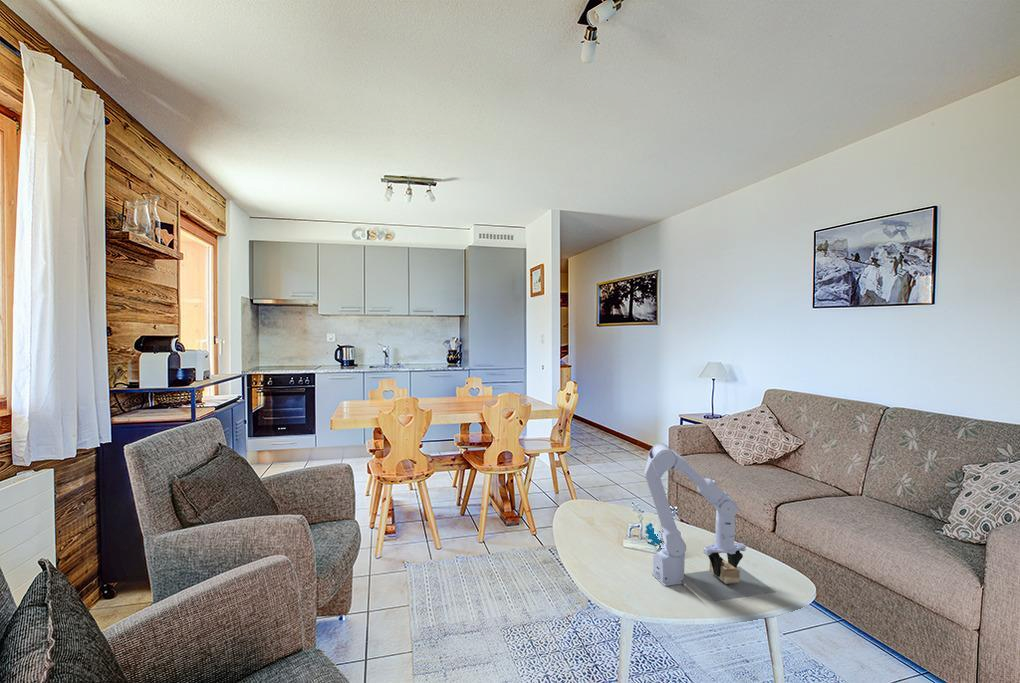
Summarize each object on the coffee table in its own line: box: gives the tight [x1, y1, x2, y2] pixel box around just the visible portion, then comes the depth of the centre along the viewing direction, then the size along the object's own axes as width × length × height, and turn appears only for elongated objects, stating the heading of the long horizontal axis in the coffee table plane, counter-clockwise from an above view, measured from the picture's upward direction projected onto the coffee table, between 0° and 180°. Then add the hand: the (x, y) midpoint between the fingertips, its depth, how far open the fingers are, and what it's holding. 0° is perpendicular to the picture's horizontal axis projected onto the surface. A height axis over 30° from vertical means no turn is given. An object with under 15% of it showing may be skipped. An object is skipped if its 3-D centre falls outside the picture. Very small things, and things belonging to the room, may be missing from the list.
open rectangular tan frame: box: [709, 558, 740, 584], centre depth 154 cm, size 8×5×4 cm, turn 14°
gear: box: [644, 522, 662, 546], centre depth 181 cm, size 11×6×10 cm
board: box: [684, 566, 777, 602], centre depth 152 cm, size 22×16×4 cm
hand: (724, 574), depth 154 cm, fingers closed on open rectangular tan frame, 5 cm apart
